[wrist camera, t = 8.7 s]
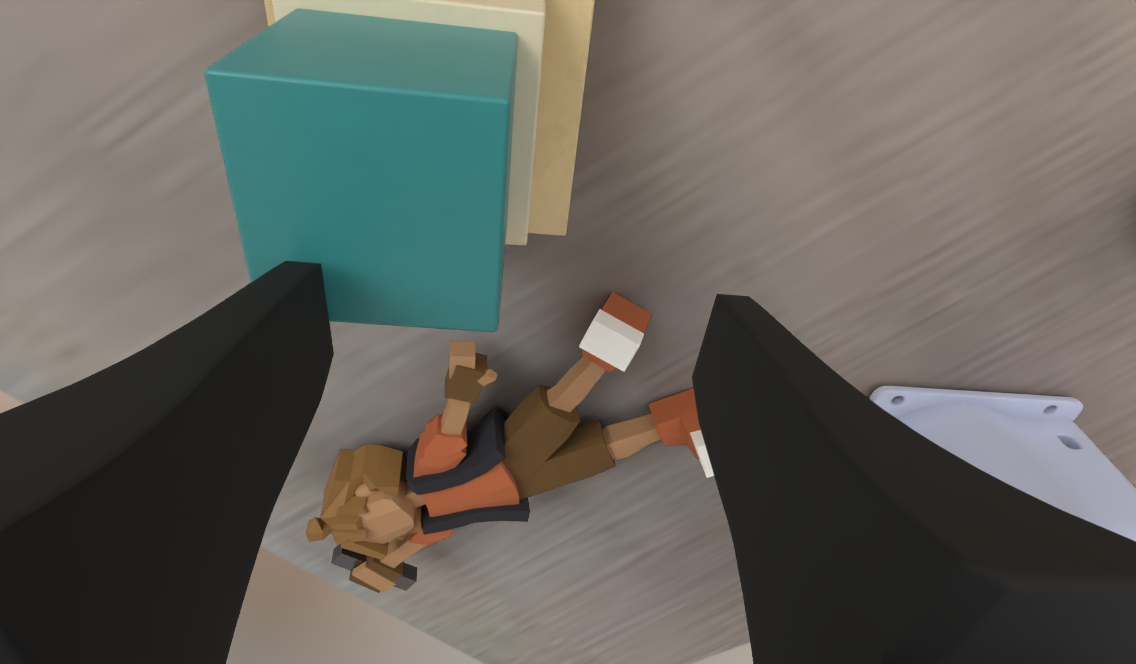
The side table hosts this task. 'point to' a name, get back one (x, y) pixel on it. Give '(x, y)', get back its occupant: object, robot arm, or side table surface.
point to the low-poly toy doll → (490, 456)
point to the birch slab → (554, 110)
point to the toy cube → (374, 161)
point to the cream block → (520, 9)
